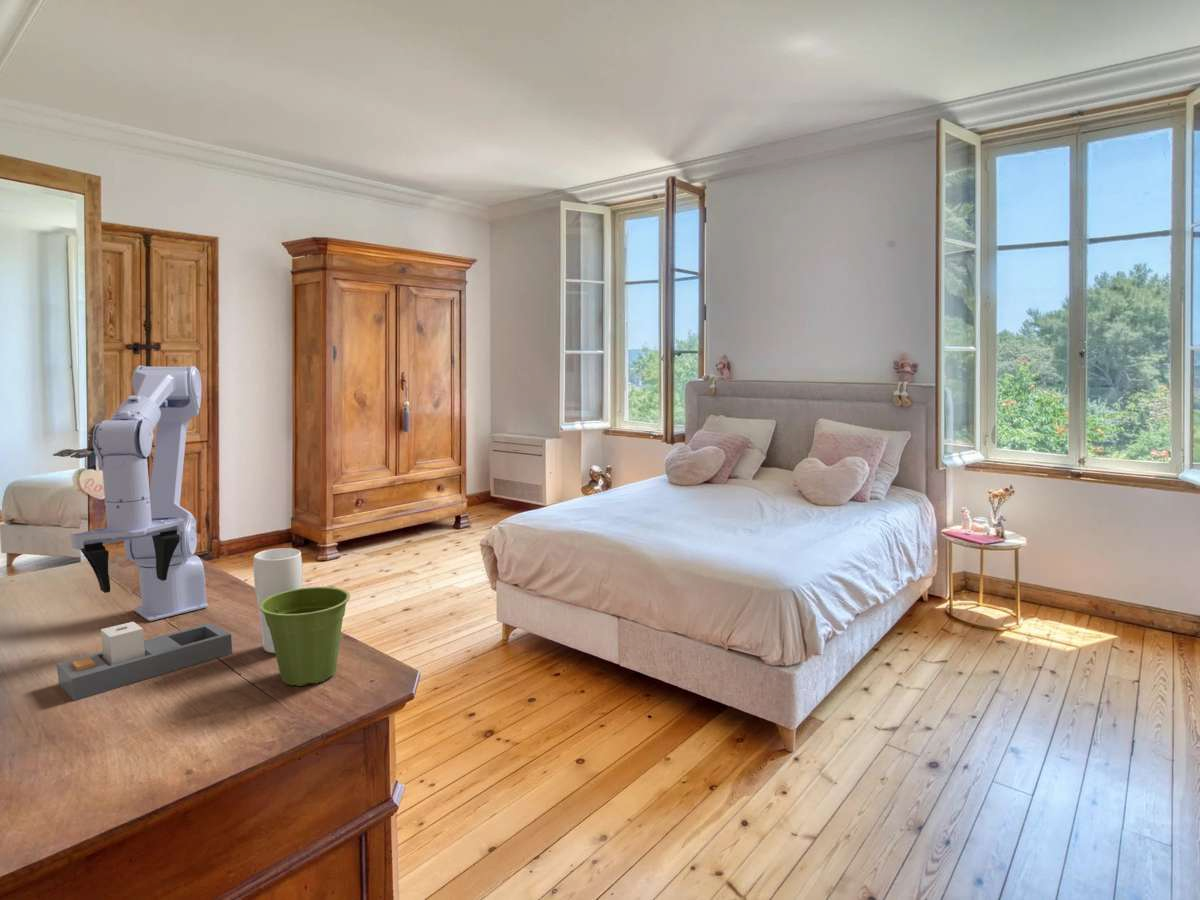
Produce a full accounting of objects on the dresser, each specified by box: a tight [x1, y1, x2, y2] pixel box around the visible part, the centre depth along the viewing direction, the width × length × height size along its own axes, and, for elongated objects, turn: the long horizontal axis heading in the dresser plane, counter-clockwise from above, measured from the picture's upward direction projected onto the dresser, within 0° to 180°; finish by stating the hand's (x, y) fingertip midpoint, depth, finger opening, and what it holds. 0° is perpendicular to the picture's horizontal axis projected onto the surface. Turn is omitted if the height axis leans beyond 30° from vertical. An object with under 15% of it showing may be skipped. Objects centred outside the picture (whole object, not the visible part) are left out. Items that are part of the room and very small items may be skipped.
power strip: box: [56, 622, 233, 701], centre depth 103 cm, size 20×7×4 cm, turn 140°
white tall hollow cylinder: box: [253, 547, 304, 654], centre depth 110 cm, size 7×7×15 cm
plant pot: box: [259, 586, 351, 687], centre depth 101 cm, size 12×12×11 cm
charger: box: [100, 621, 145, 666], centre depth 100 cm, size 4×4×6 cm
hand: (134, 584), depth 110 cm, fingers open, 7 cm apart
